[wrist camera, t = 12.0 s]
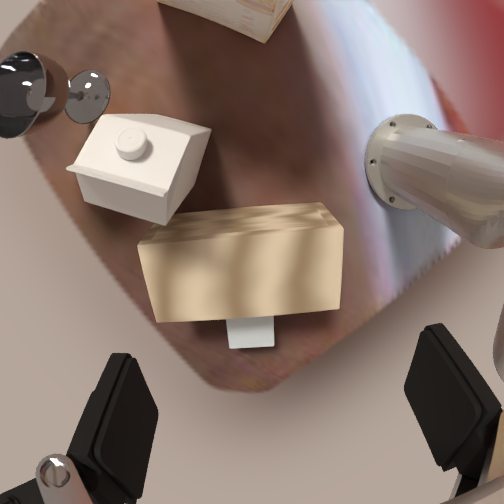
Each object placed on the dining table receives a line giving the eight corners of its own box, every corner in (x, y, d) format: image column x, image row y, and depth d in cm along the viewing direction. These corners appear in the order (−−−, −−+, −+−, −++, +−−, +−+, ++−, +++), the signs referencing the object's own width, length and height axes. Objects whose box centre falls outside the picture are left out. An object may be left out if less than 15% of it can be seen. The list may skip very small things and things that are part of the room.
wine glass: (117, 115, 33) (50, 120, 19) (66, 134, 33) (-10, 151, 20) (108, 58, 30) (41, 35, 16) (57, 79, 30) (-19, 74, 16)
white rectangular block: (268, 219, 39) (271, 233, 35) (271, 324, 46) (274, 346, 41) (220, 222, 39) (216, 237, 35) (230, 326, 46) (229, 348, 41)
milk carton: (194, 185, 37) (151, 247, 20) (140, 169, 36) (59, 217, 19) (212, 129, 34) (179, 138, 17) (155, 113, 33) (76, 114, 16)
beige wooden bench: (320, 202, 38) (343, 228, 29) (320, 268, 42) (339, 308, 33) (160, 215, 38) (137, 245, 30) (173, 280, 42) (156, 322, 33)
